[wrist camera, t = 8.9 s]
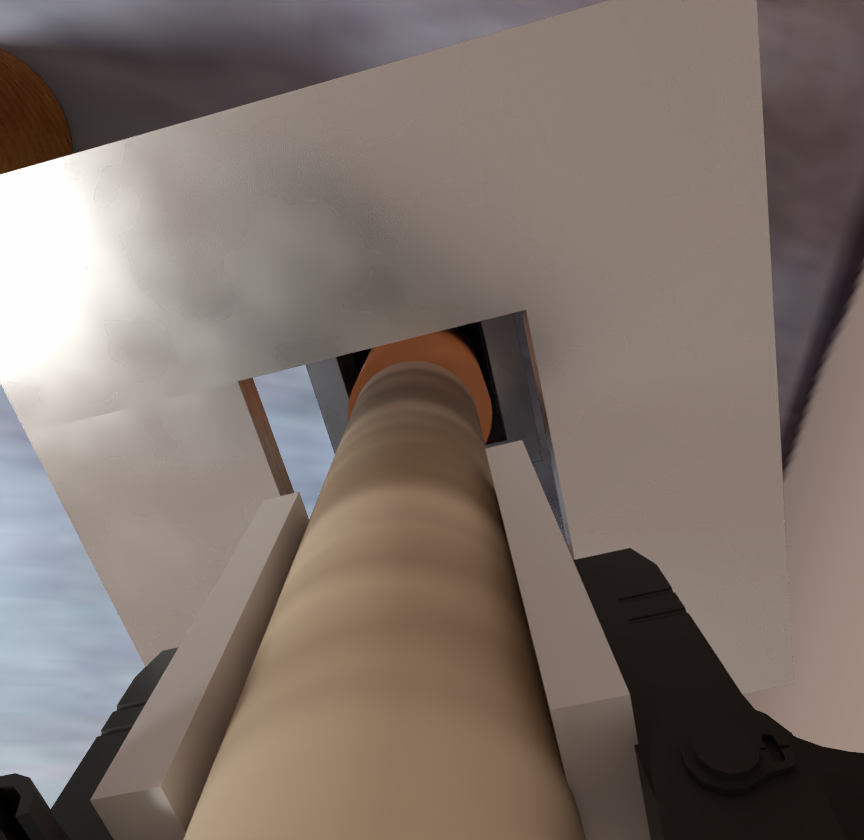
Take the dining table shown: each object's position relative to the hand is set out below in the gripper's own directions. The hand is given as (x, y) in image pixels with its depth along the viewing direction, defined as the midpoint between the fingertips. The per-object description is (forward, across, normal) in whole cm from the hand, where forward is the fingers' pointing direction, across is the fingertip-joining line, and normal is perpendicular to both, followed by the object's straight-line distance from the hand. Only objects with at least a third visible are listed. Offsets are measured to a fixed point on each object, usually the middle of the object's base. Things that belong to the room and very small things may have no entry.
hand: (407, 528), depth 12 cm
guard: (+14, 0, 0) cm, 14 cm away
